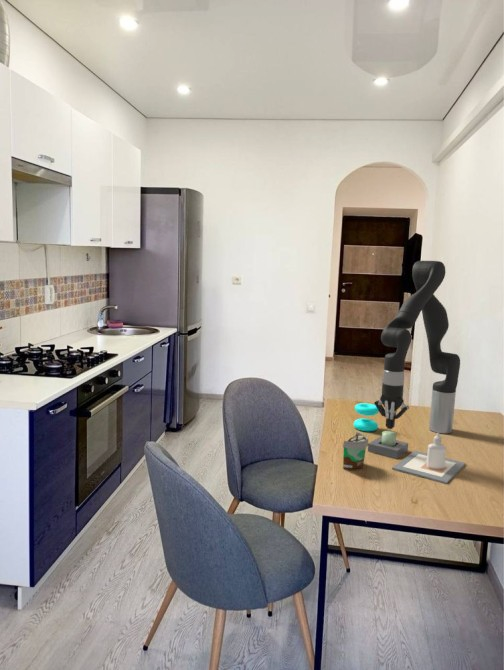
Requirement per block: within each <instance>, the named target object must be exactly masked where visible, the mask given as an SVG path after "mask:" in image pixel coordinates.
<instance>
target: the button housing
mask: <svg viewBox="0 0 504 670" xmlns="http://www.w3.org/2000/svg"><path fill="white" fill-rule="evenodd" d="M381 443H382V435H381V436H378V437H377V438H375V439H374V440H372V441H370V442H368V446H367V452H368V453H372V454H375V455H380V456H384V457H388V458H392V459H396V460H397V459H398V458H400V457H401V456H402V455H404V454H405V453H407V452H408V451H409V443H408V442H406V441H401V440H397V439H396V444H395V446H394V447H390V446H386V445H382V444H381Z"/></svg>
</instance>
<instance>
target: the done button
mask: <svg viewBox="0 0 504 670" xmlns="http://www.w3.org/2000/svg"><path fill="white" fill-rule="evenodd" d="M381 437H382V443H381V444H382V445H386V446H390V447H394V446H395V444H396V440H397V433H396V432H394V431H392V430H391V431H390V430H384V431H382V432H381Z"/></svg>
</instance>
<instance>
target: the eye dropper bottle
mask: <svg viewBox="0 0 504 670" xmlns="http://www.w3.org/2000/svg"><path fill="white" fill-rule="evenodd" d="M446 449H447V448H446V446H445V445H444V444H442V437H441V436H440V433H437V432H436V435H435V436H433V442H432V443H429V444H428V445H427V463H426V466H427V467H428V468H430V469H443V468H444V464H445V458H446V452H447V451H446Z"/></svg>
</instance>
